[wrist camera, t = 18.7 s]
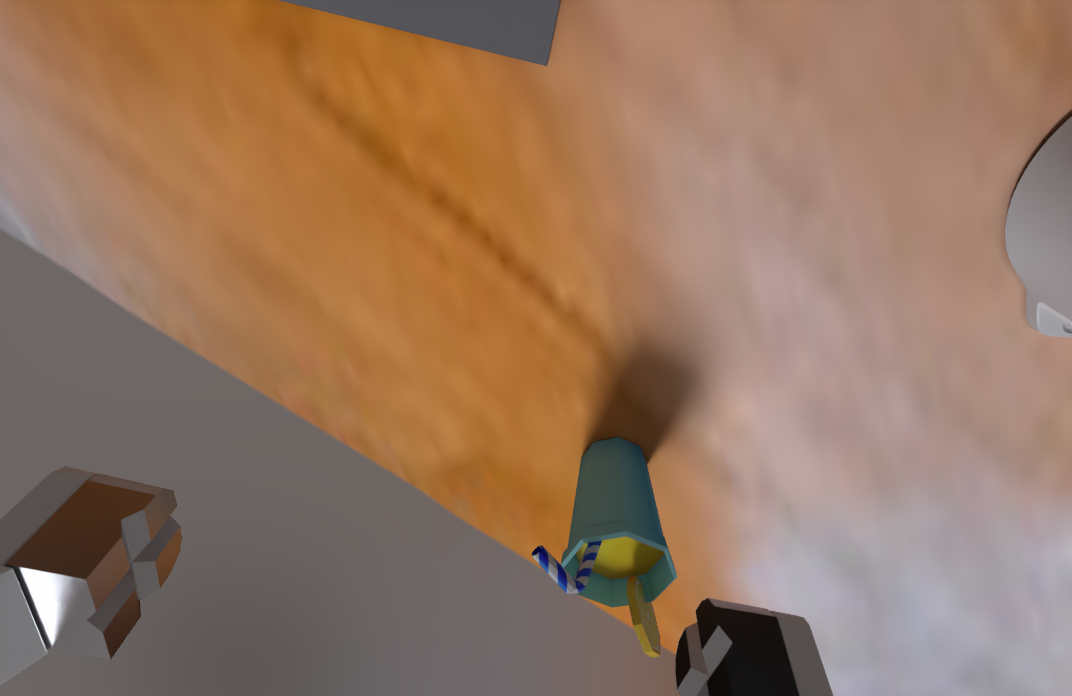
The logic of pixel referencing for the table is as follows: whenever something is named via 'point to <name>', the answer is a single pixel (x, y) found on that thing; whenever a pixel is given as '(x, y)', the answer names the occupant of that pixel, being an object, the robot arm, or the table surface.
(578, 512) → the cup
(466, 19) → the charcoal mat
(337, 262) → the table surface
